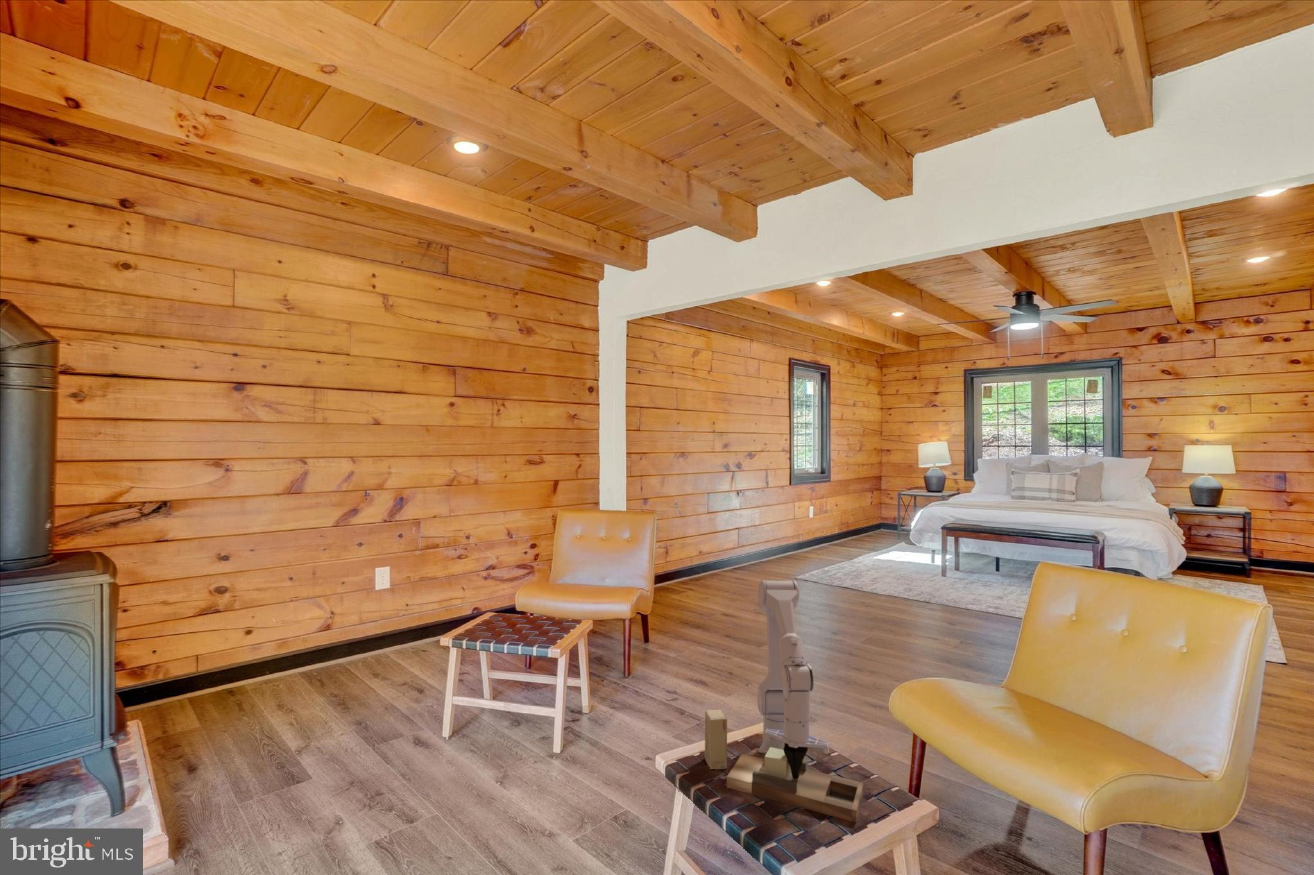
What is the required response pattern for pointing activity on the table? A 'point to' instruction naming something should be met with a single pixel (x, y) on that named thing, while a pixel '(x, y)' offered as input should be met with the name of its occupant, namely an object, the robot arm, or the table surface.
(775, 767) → the sage block
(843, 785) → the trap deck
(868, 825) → the table surface
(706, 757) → the skincare box
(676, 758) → the table surface
